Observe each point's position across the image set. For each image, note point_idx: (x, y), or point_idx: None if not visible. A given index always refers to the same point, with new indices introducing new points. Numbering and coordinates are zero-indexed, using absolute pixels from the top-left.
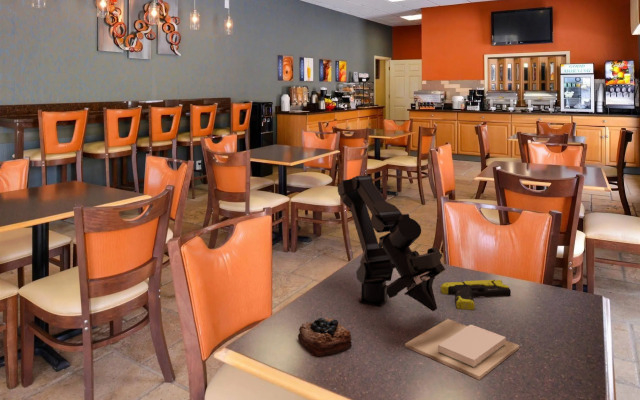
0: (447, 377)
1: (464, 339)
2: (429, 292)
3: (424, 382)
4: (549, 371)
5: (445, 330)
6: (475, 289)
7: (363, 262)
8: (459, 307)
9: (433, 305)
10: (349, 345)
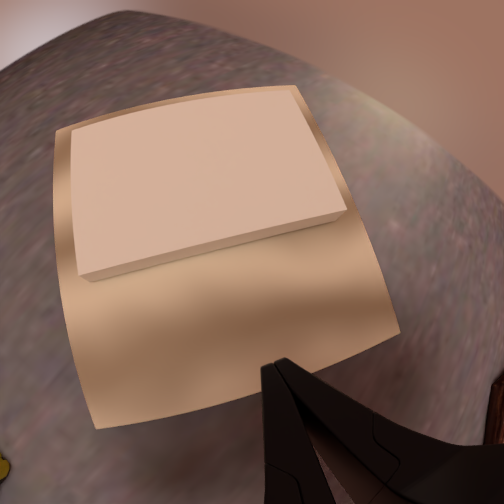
0: (360, 137)
1: (217, 183)
2: (323, 480)
3: (415, 158)
4: (115, 54)
5: (180, 352)
6: None
7: None
8: (1, 460)
9: (306, 372)
10: (501, 380)
